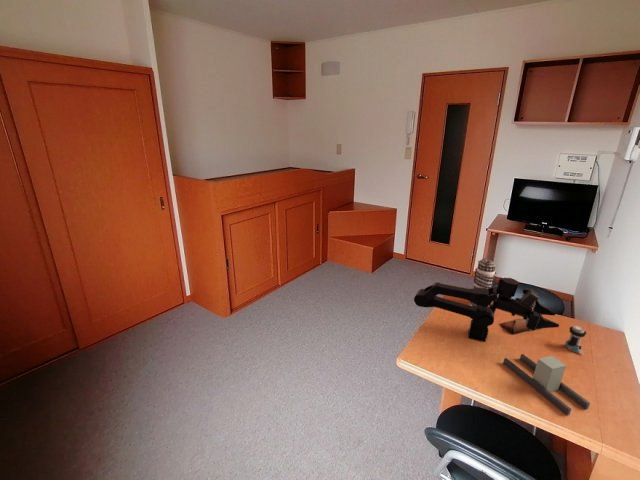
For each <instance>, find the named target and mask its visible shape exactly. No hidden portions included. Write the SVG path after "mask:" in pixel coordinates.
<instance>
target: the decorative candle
mask: <svg viewBox="0 0 640 480" xmlns="http://www.w3.org/2000/svg"><path fill="white" fill-rule="evenodd" d="M477 263H478V264H477V267H476V268H475V269H474V275H473V277H474V278H473V288H486V289H489V288H493V285H494V282H495V279H496V274H497V272H496V267H497V266H498V264H497V263H496V262H495V261H494V260H493V259H490V258H481V260H478V261H477ZM468 305H470V306H477V305H476V304H474V303H472V302H471V301H469V304H468Z"/></svg>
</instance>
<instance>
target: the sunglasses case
mask: <svg viewBox="0 0 640 480" xmlns="http://www.w3.org/2000/svg"><path fill="white" fill-rule="evenodd" d="M526 320H527V319H526ZM526 320H524V319H523V318H515V319H514V320H513V319H512V320H508V321H504V322H501V323H498V325H499V327H501V328H502V329H504V330H505V331H507V332H508V333H509V334H511V335H516V334H521V333H523V332H527V331H530V330H529V329H528V328H527V327H526Z"/></svg>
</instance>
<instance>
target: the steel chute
mask: <svg viewBox="0 0 640 480" xmlns="http://www.w3.org/2000/svg"><path fill="white" fill-rule="evenodd" d="M519 361H521V362H522V363H523V364H525V365H526V366H527V367H528V368H529V369H531V370H533V372H535V369H536V365H537V362H535V361H533V360H532V359H530V358H529V357H528V356H526V355H525V354H523V353H522V354H520V356H519ZM502 364H503V365H504V366H505V367H506V368H507V369H509V370H511V372H513V373H514V374H515V375H516V376H517V377H519V378H520V379H521V380H523V381H524V382H525V383H526V384H528V385H529V386H530V387H531V388H532V389H534V391H536V392H537V393H539V394H540V395H541V396H542V397H543V398H545V399H546V401H548V402H550V403H551V404H552V405H553V406H554V407H556V408H557V409H558V410H559V411H560V412H562V413H563V414H564V415H566V416H568V417H569V416H570V415H571V411H572V408H571V407H570V406H569V405H567V404H566V403H565V402H563V401H562V400H561V399H559V397H557V396H556V395H555V394H554V393H553V392H549V391H548V390H547V389H545V388H544V387H543V386H542V385H540V384H539V383H538V382H537V381H535V380H534V379H533V377H531V376H530V375H529V374H528V373H526V372H525V371H524V370H522V369H521V368H520V367H519V366H517V365H516V364H515V363H513V362H512V360H509V359H508V358H507V357H506V358H503V361H502ZM558 391H560V392H562V393H563V394H564V395H566V396H567V397H568V398H569V399H571V400H573V401H574V402H575V403H576V404H578V405H579V406H580V407H582V408H583V409H584V410H588V409H589V407H590V404H591V402H589V401H588V400H587V399H585V398H584V397H583V396H581V394H579V393H577V392H575V391H574V390H573V389H572V388H570V387H569V386H568V385H566V384H565V383H563V382H562V381H561V383H560V386H559V389H558Z"/></svg>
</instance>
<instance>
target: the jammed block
mask: <svg viewBox="0 0 640 480" xmlns="http://www.w3.org/2000/svg"><path fill="white" fill-rule="evenodd" d="M536 364H537V365H536V369H535V371H533V372H534V374H533V375H532V378H533V379H534V380H535V381H537V382H538V383H539V384H540V385H542V386H543V387H544V388H545V389H547V390H548V391H549V392H551V393H553V392H555V391H559V386H560V383H561V382H562V379H563V376H564V374H565V370H566V367H567V365H566V364H565V363H563V362H562V361H561V360H559V359H558V358H556V357H555V356H553V355H548V356H545V357H541V358H540V357H539V358H538V359H537V362H536Z"/></svg>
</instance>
